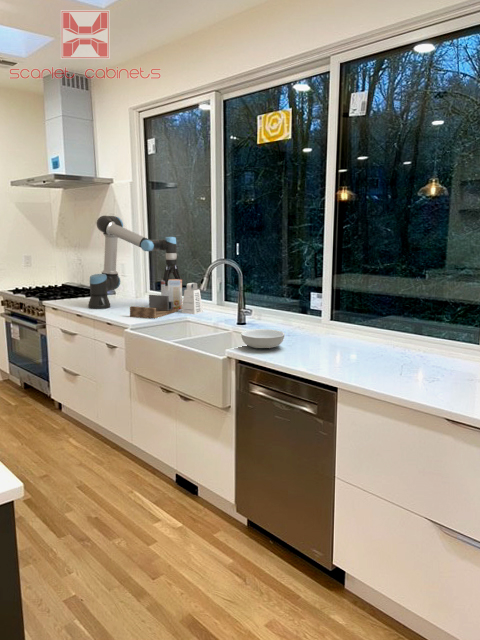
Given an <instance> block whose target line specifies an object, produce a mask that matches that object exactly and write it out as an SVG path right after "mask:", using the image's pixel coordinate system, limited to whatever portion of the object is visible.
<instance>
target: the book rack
mask: <svg viewBox="0 0 480 640" xmlns="http://www.w3.org/2000/svg"><path fill="white" fill-rule="evenodd" d="M177 312H179V309H172V310H169V311H161V310H156V308H149V307H143V306H135V305H134V306H129V317H130V318H139V317H140V318H143V319H151V318H154V319H153V320H156V319H158V317H159V318H161V317H165V316H168V315H171V314H174V313H177ZM140 318H139V319H140ZM155 318H156V319H155Z"/></svg>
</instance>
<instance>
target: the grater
mask: <svg viewBox="0 0 480 640" xmlns="http://www.w3.org/2000/svg"><path fill="white" fill-rule="evenodd" d="M203 310H204V309H203V302H202V297H201V290H200V289H199V288H198V283H197V282H189V283H187V284H186V289H184V292H183V297H182V309H181V314H188V315H197V314H201V313H203V312H204V311H203Z"/></svg>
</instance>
